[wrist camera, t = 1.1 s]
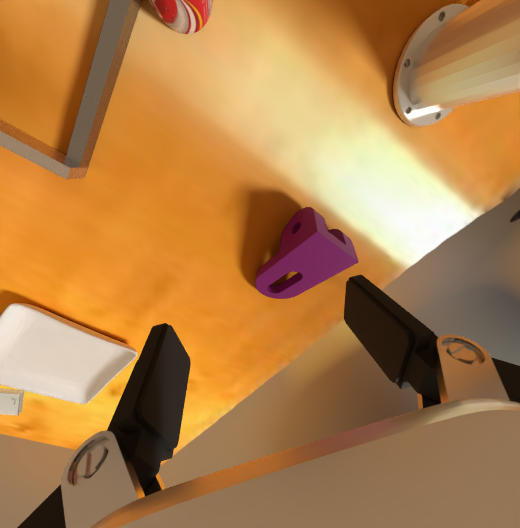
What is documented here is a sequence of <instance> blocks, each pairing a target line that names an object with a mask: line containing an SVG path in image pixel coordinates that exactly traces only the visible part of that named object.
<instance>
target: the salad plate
mask: <svg viewBox="0 0 520 528" xmlns="http://www.w3.org/2000/svg"><path fill="white" fill-rule="evenodd" d="M137 355H138V353H137V351H136V350H135V349H134V348H133V347H131V346H129V345H127V344H125V343H123V342H120V341H117V340H115V339H112V338H110V337H107V336H105V335H102V334H100V333H98V332H95V331H93V330H90V329H88V328H86V327H83V326H81V325H79V324H76V323H74V322H71V321H69V320H67V319H64V318H62V317H60V316H57V315H55V314H53V313H51V312H49V311H46V310H44V309H42V308H39V307H36V306H34V305H30V304H26V303H13V304H10V305H9V306H8V307H7V308H6V309H5V311H4V312H3V313H2V315H1V316H0V385H4V386H8V387H12V388H17V389H20V390H24V391H28V392H32V393H37V394H41V395H45V396H49V397H53V398H58V399H62V400H66V401H70V402H75V403H80V404H86V403H88V402H90V401H91V400H92V399H93V398H94V397H95V396H96V395H97V394H98V393H99V392H100V391H101V390H102V389H103V388H104V387H105V386H106V385H107V384H108V383H109V382H110V381H111V380H112V379H113V378H114V377H115V376H116V375H117V374H118V373H120V372H121V371H122V370H123V369H124V368H125V367H126V366H127V365H128V364H129V363H131V362H132V361H133V360H134V359H135V358H136V357H137Z"/></svg>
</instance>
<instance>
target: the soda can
mask: <svg viewBox="0 0 520 528" xmlns="http://www.w3.org/2000/svg"><path fill="white" fill-rule="evenodd" d="M149 2H150V3H151V5H152V6H153V8H154V10H155V11H156V13H157V14H158V16H159V17H160V18H161V19H162V21H163V22H164V23H165V24H166V25H167V26H169V27H170V28H171V29H173V30H175V31H177V32H179V33H182V34H192V33H195V32H197V31H199V30H200V29H201V28H202V27H203V26H204V25H205V24H206V22H207V21H208V18H209V16H210V12H211V8H212V0H149Z"/></svg>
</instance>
